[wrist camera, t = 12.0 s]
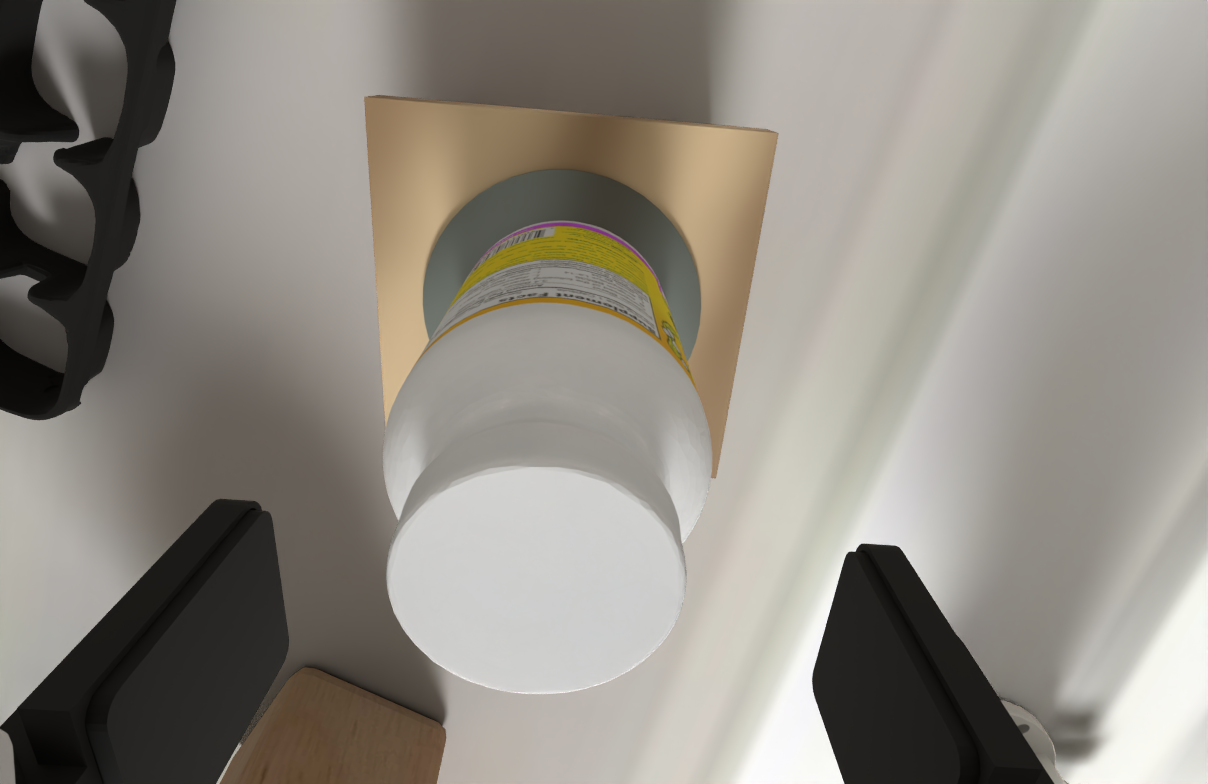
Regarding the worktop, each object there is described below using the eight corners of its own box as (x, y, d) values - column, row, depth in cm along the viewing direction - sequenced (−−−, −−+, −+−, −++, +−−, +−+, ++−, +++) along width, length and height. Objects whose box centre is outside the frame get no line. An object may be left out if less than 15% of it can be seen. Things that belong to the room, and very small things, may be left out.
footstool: (731, 116, 27) (780, 134, 20) (689, 390, 32) (716, 481, 25) (423, 89, 26) (362, 97, 19) (431, 373, 31) (385, 460, 24)
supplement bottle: (626, 431, 24) (658, 774, 12) (442, 377, 23) (287, 694, 11) (698, 253, 21) (825, 476, 10) (492, 182, 20) (357, 338, 9)
